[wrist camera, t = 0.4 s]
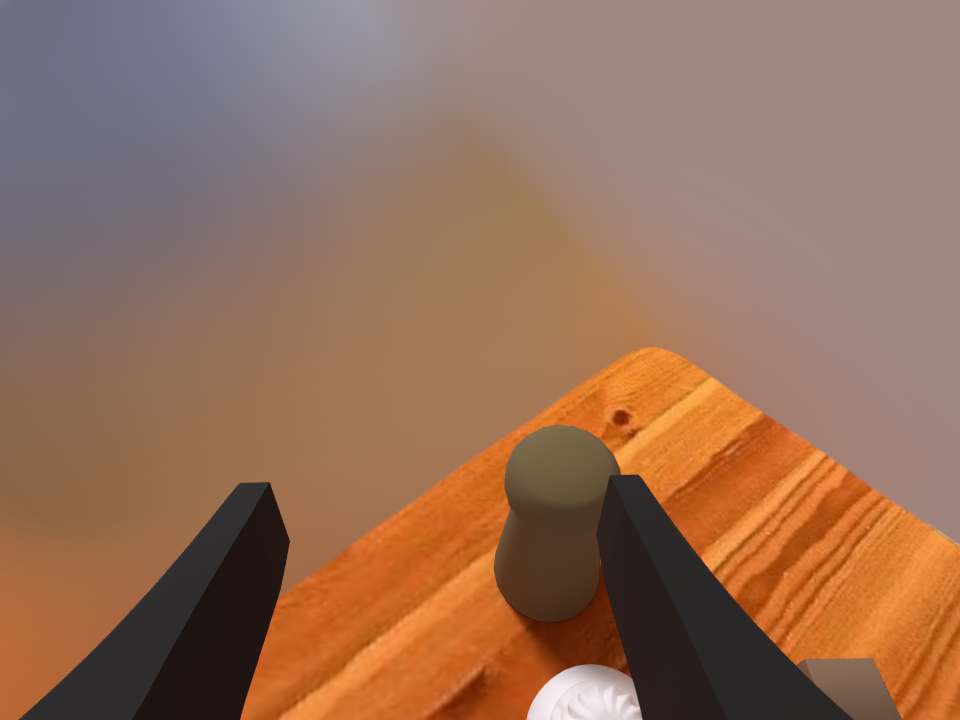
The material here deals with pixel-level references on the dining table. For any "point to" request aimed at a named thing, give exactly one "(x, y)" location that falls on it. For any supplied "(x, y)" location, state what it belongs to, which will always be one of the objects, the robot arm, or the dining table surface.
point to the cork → (553, 522)
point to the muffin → (587, 696)
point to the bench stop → (852, 687)
